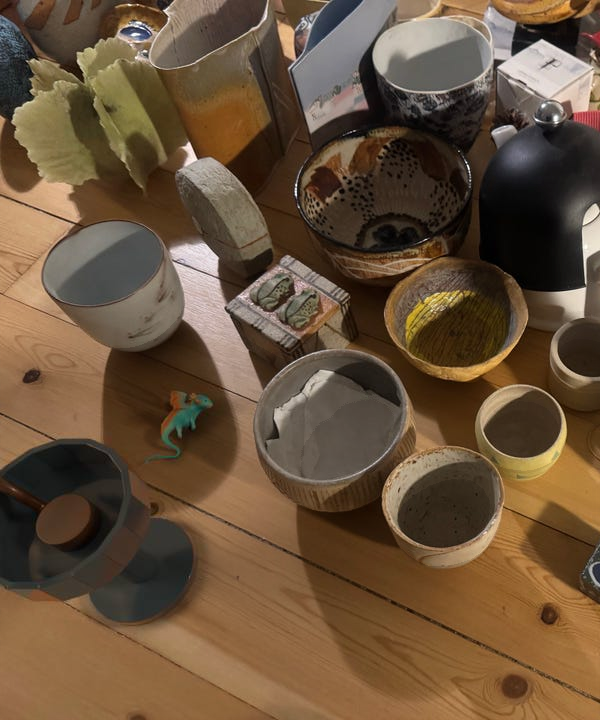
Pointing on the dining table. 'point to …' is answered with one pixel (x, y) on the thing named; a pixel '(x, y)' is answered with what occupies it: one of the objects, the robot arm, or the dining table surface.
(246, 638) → the dining table surface
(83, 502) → the ladle
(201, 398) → the dragon figurine
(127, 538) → the bowl
